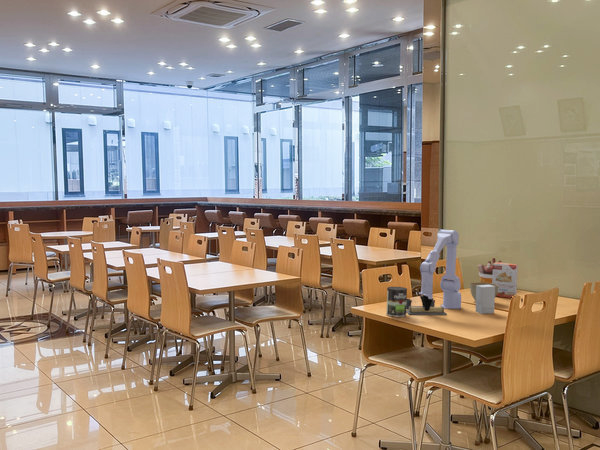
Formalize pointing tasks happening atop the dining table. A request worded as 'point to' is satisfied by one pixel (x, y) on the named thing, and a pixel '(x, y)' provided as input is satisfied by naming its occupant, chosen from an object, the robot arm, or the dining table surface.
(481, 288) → the skincare box
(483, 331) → the dining table surface
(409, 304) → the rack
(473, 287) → the planter bowl
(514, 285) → the cracker box
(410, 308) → the rail
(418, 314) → the mat
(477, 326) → the dining table surface
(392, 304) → the coffee can
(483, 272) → the bucket of meat
